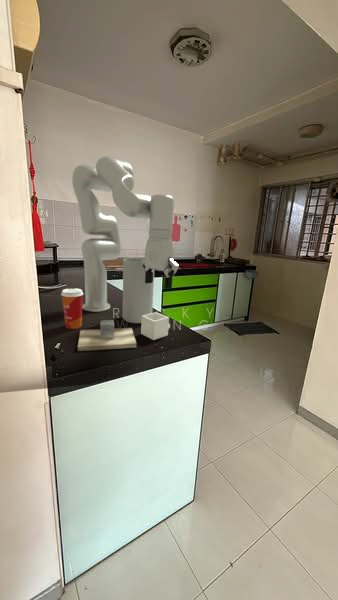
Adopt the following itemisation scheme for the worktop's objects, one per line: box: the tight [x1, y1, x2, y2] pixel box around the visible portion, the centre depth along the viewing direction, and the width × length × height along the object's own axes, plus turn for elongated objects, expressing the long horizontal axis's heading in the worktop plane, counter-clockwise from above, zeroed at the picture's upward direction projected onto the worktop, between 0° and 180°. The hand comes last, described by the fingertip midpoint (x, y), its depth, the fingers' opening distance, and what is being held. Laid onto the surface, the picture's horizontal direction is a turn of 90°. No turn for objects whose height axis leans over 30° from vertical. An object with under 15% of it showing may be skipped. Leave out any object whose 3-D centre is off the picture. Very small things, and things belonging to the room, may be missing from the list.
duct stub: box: [99, 319, 115, 339], centre depth 85 cm, size 4×4×5 cm
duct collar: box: [140, 311, 171, 341], centre depth 93 cm, size 7×10×7 cm
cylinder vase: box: [122, 257, 155, 324], centre depth 105 cm, size 12×12×25 cm
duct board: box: [77, 327, 137, 352], centre depth 86 cm, size 13×18×2 cm
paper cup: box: [60, 287, 84, 330], centre depth 94 cm, size 8×8×14 cm
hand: (158, 285), depth 88 cm, fingers open, 9 cm apart
